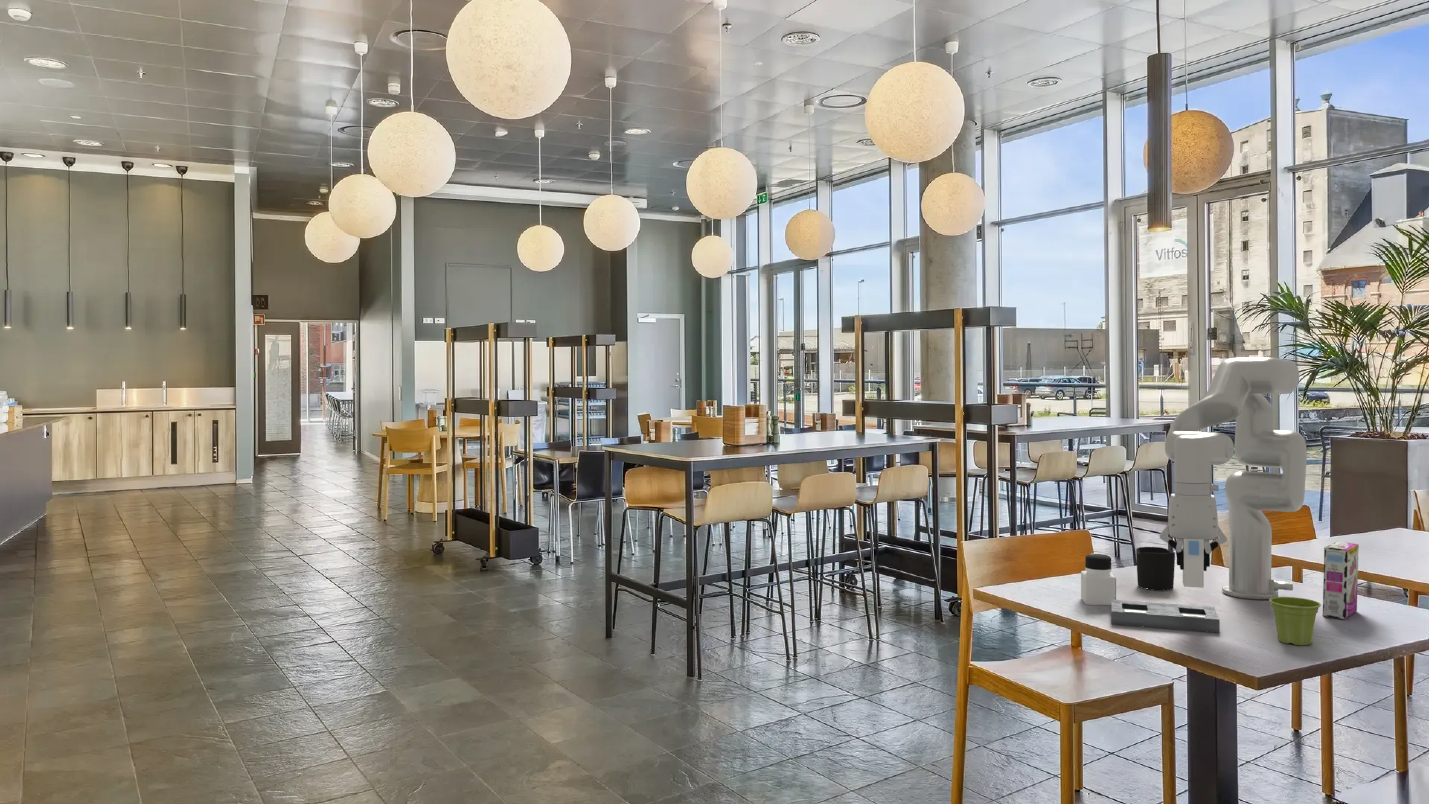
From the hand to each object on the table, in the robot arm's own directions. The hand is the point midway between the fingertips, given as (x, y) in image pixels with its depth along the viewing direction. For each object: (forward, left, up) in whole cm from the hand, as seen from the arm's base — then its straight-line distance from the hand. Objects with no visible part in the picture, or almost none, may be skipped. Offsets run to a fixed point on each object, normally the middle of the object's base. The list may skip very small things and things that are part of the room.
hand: (1193, 568), depth 219 cm
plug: (0, 0, -4) cm, 4 cm away
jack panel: (+6, 0, -13) cm, 14 cm away
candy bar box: (-33, -21, -13) cm, 41 cm away
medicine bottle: (+20, -15, -13) cm, 28 cm away
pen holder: (+6, -37, -13) cm, 39 cm away
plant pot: (-19, +8, -13) cm, 24 cm away
